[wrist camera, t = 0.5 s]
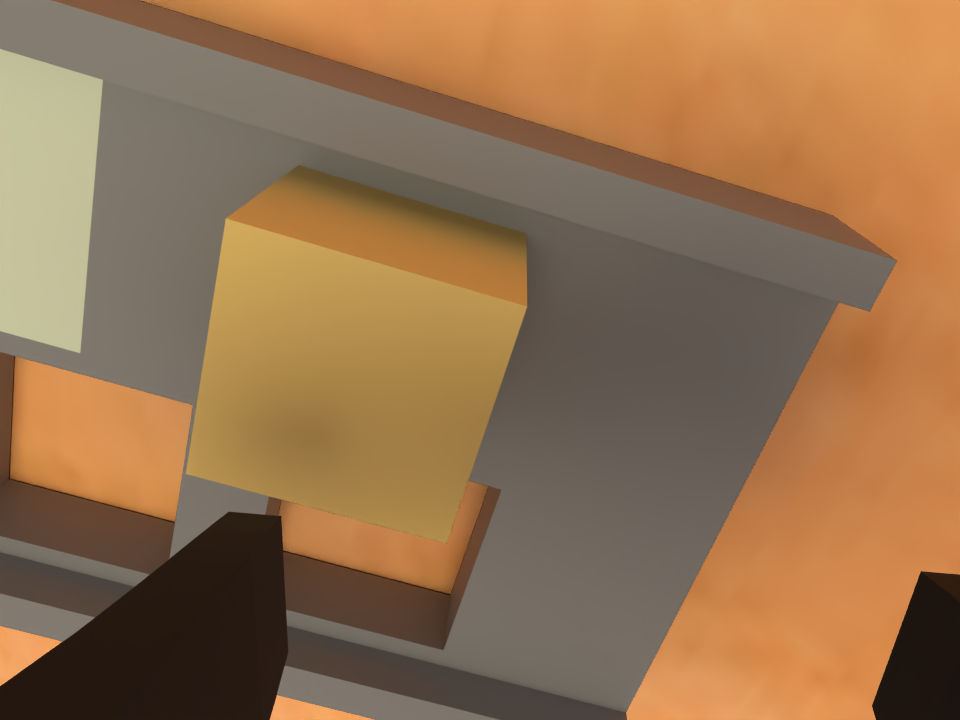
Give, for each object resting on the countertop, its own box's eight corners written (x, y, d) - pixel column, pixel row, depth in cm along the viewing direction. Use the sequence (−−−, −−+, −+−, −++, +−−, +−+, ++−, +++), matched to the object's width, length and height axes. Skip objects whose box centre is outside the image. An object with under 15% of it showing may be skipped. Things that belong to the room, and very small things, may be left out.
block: (526, 233, 15) (527, 306, 12) (463, 428, 17) (447, 544, 13) (298, 165, 15) (226, 218, 11) (259, 370, 17) (185, 473, 13)
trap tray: (832, 215, 17) (897, 260, 14) (605, 678, 23) (617, 779, 20) (-124, -82, 15) (-276, -101, 12) (-107, 495, 21) (-207, 574, 18)
